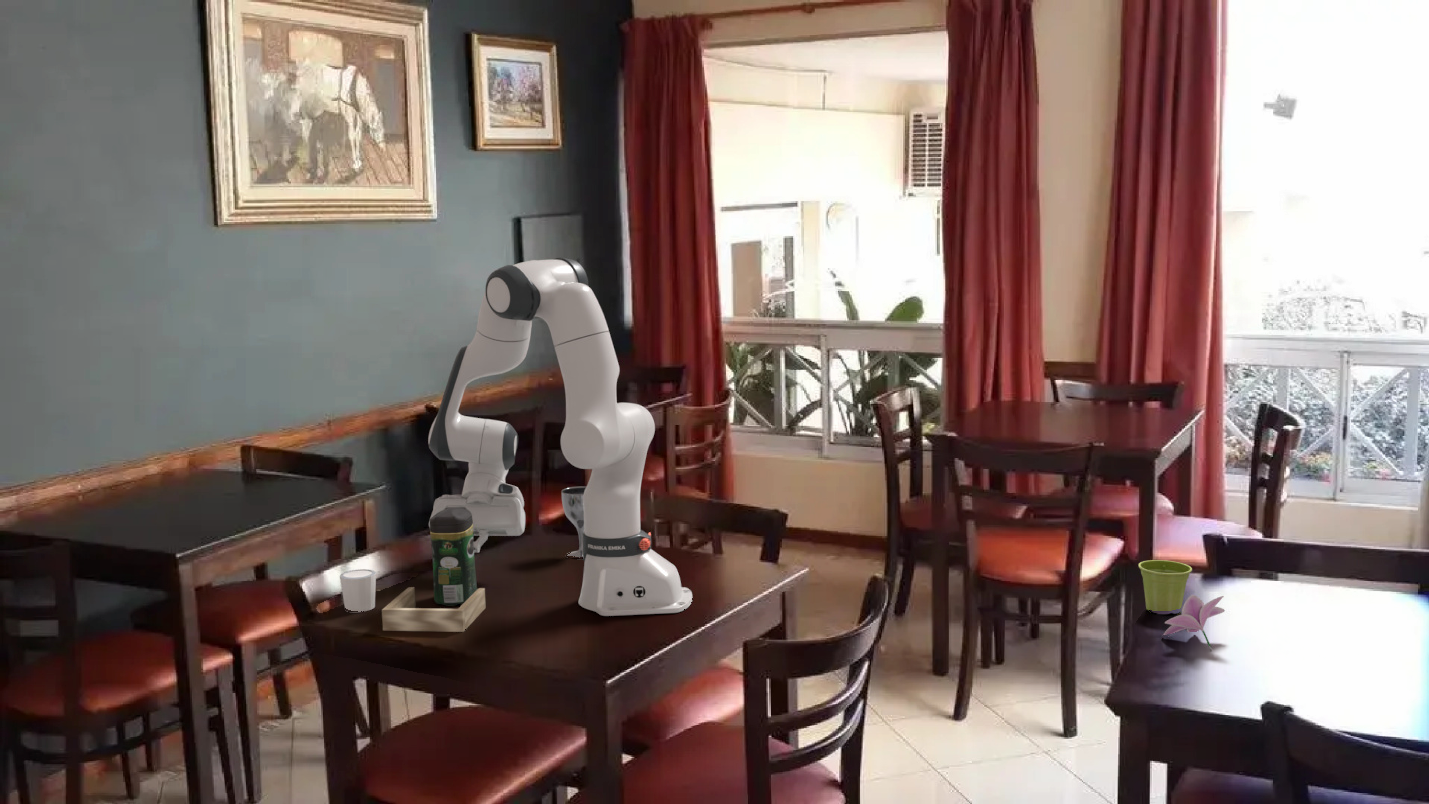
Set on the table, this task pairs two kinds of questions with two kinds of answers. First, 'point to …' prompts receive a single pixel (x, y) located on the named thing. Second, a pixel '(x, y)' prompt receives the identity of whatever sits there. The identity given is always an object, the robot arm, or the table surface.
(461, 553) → the coffee jar
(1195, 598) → the lily
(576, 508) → the wine glass
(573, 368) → the robot arm
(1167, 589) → the plant pot
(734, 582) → the table surface
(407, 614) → the bay
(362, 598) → the white cup
